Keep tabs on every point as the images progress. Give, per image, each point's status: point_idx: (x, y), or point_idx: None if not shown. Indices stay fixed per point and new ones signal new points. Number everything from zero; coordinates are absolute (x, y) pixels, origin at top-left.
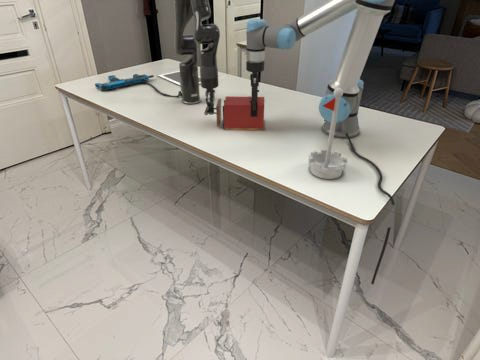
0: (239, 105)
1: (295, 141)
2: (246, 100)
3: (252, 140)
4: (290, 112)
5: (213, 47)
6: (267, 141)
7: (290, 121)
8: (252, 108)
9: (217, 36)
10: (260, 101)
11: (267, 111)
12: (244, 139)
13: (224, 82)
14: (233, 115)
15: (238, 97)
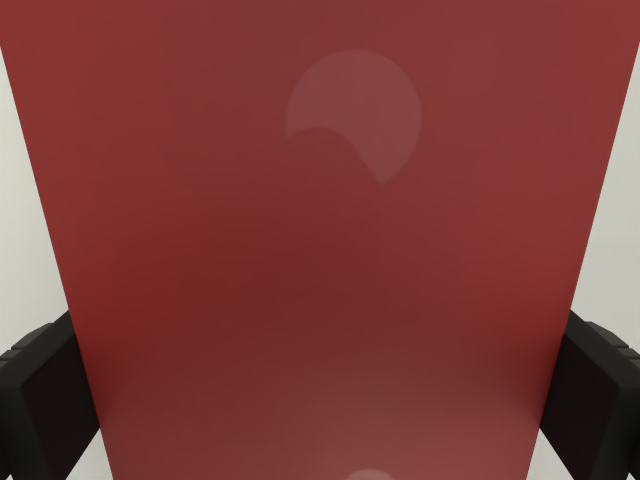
0: (18, 91)
1: (84, 475)
2: (335, 242)
3: (9, 221)
4: (558, 477)
5: None
6: (29, 326)
7: None
8: (18, 341)
9: None
10: (294, 468)
11: (615, 333)
12: (5, 153)
13: None
14: None
15: (565, 28)
